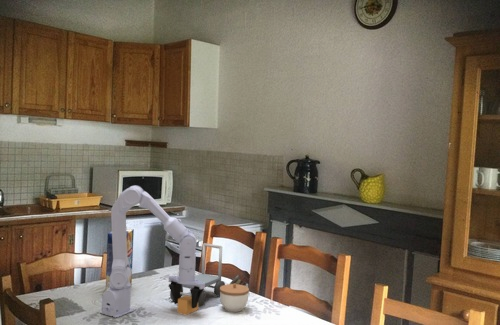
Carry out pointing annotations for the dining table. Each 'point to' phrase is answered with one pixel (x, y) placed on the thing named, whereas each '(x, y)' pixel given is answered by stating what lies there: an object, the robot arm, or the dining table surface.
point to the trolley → (207, 277)
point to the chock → (185, 305)
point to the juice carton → (110, 254)
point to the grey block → (238, 281)
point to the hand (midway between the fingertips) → (185, 305)
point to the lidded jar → (234, 297)
